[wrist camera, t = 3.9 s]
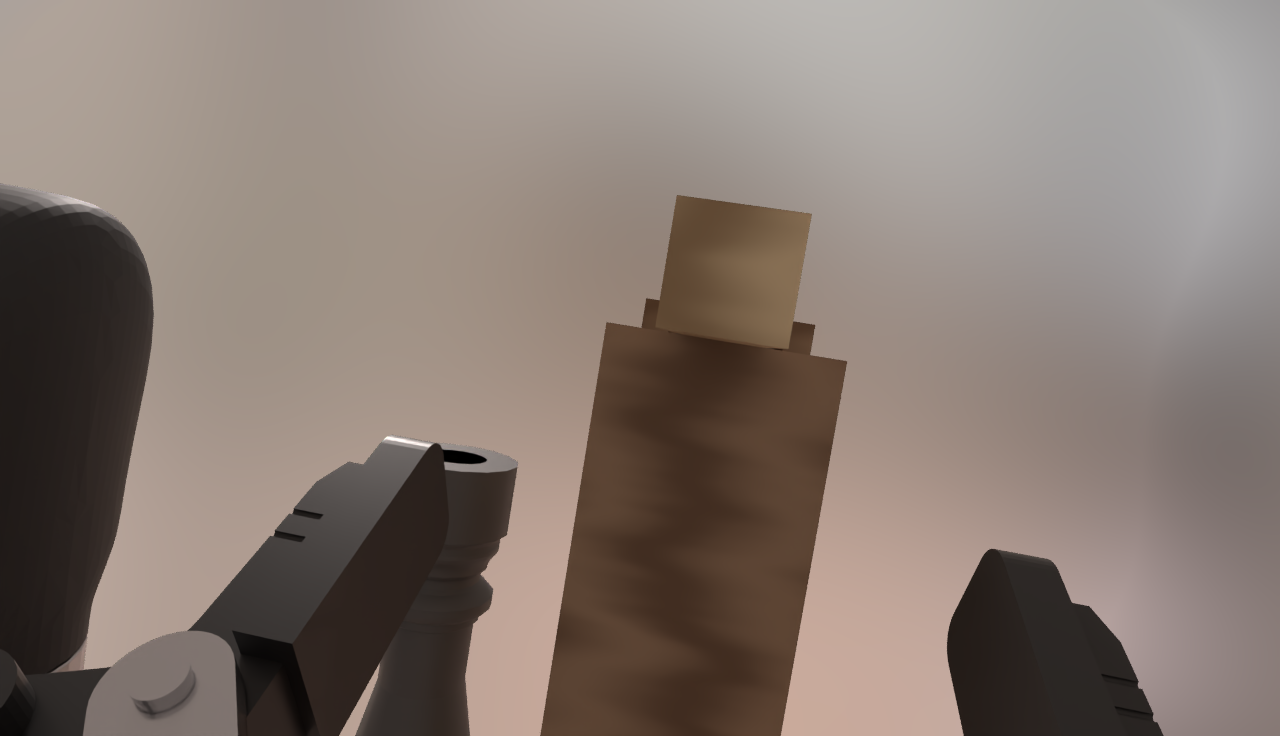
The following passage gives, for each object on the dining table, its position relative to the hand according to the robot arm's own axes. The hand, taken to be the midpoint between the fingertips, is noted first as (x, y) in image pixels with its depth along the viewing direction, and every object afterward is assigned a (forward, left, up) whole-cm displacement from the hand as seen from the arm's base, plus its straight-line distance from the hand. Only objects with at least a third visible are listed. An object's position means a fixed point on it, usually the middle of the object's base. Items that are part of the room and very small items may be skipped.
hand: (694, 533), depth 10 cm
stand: (0, +17, -29) cm, 34 cm away
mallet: (0, +14, +3) cm, 14 cm away
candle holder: (-11, +20, -29) cm, 37 cm away
